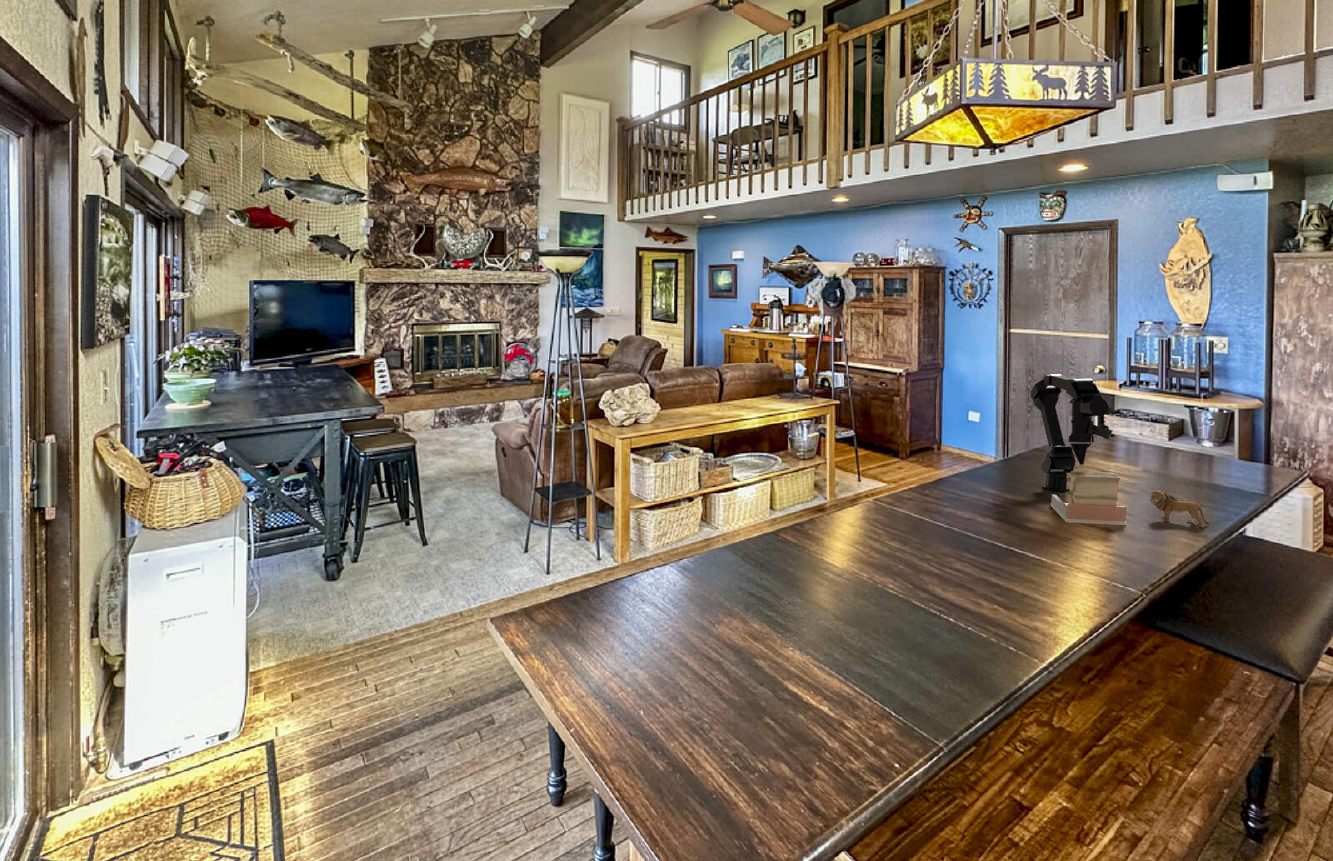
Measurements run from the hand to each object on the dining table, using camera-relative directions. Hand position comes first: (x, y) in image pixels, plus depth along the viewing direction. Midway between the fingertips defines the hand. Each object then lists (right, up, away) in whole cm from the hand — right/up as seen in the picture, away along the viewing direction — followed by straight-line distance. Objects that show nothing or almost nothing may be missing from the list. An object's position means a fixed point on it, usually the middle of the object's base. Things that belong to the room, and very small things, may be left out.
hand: (1081, 464), depth 226 cm
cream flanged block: (-6, -15, -15) cm, 22 cm away
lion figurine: (+16, -16, -20) cm, 30 cm away
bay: (-5, -15, -11) cm, 19 cm away
